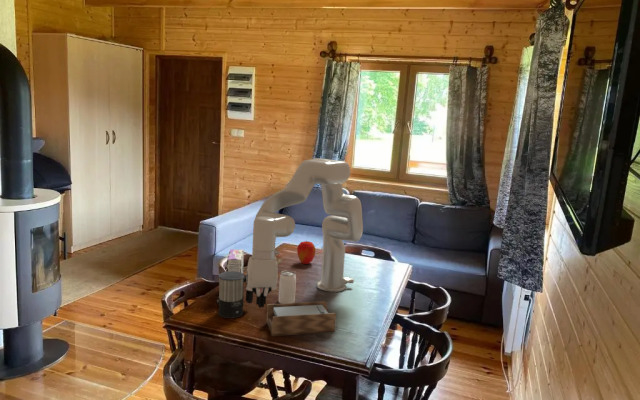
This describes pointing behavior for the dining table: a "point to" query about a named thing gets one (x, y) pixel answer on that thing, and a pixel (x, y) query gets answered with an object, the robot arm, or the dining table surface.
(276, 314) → the cover plate
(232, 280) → the milk frother
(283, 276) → the can
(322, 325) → the walnut box
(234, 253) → the candy box
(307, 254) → the apple
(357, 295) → the dining table surface
